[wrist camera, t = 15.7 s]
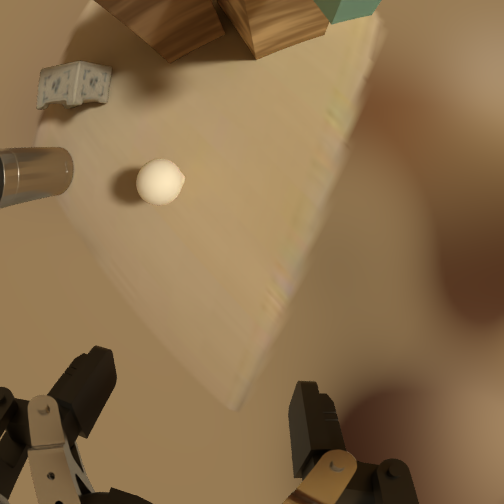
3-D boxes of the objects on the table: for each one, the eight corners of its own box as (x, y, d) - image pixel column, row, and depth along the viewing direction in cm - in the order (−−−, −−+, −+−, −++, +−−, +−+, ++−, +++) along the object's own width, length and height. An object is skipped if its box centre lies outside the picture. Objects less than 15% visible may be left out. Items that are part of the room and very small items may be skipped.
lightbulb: (188, 204, 43) (162, 216, 33) (155, 189, 43) (121, 197, 33) (204, 168, 42) (181, 169, 31) (169, 154, 41) (138, 151, 31)
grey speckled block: (67, 114, 40) (30, 109, 30) (76, 73, 38) (42, 62, 28) (107, 112, 40) (70, 103, 30) (117, 68, 37) (83, 51, 27)
